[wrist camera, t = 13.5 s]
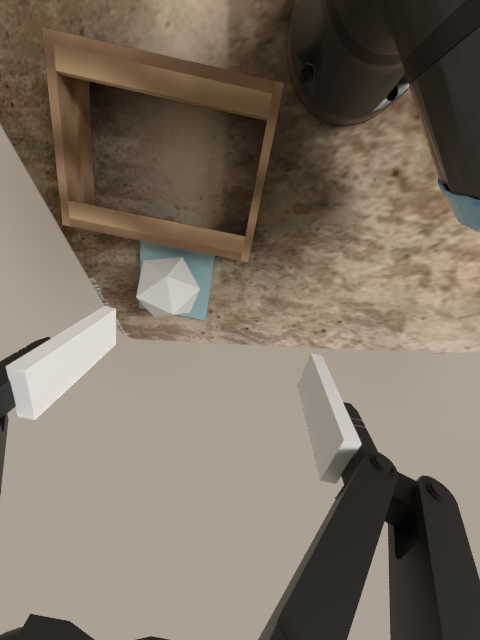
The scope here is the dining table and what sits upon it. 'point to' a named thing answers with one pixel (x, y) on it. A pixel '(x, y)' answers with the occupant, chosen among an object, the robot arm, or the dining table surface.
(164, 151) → the dining table surface
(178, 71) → the wooden tray
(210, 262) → the pad
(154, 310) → the die
